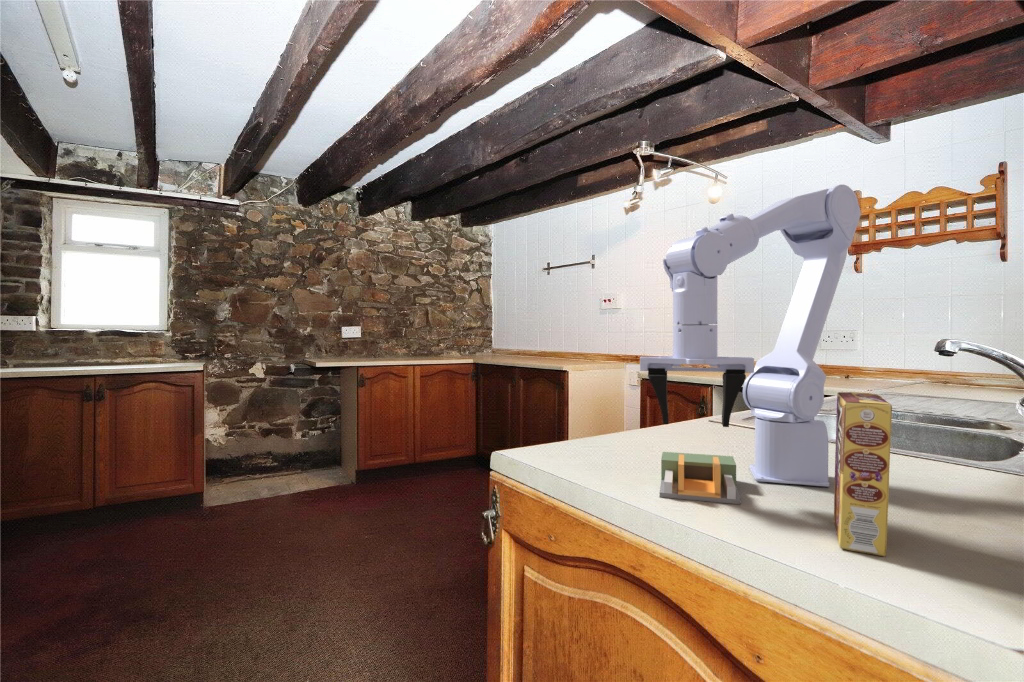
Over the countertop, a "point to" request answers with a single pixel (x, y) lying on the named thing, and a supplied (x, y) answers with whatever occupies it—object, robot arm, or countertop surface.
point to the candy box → (862, 472)
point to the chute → (700, 482)
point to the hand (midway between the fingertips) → (695, 424)
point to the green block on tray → (698, 476)
